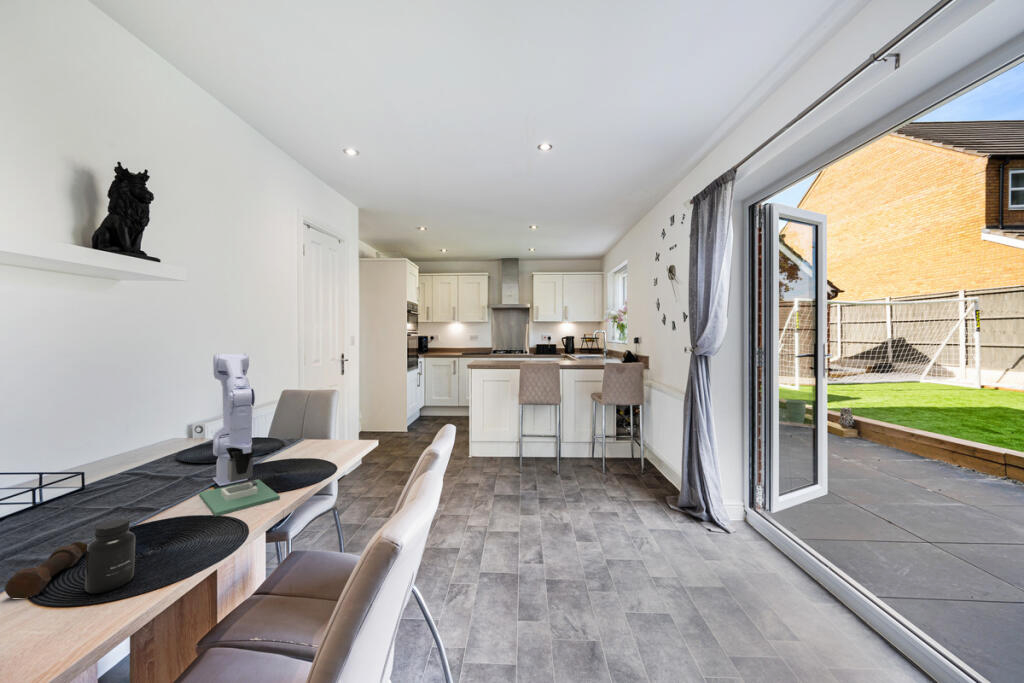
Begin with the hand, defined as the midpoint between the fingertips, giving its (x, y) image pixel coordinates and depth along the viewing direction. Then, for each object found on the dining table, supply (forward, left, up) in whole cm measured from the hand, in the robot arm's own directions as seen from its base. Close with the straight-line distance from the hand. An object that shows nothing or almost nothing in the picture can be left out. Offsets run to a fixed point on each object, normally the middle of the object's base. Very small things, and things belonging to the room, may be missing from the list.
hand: (239, 471), depth 118 cm
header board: (0, 0, -8) cm, 8 cm away
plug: (0, 0, -2) cm, 2 cm away
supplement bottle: (+30, -29, -8) cm, 43 cm away
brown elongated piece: (+18, -36, -8) cm, 41 cm away
